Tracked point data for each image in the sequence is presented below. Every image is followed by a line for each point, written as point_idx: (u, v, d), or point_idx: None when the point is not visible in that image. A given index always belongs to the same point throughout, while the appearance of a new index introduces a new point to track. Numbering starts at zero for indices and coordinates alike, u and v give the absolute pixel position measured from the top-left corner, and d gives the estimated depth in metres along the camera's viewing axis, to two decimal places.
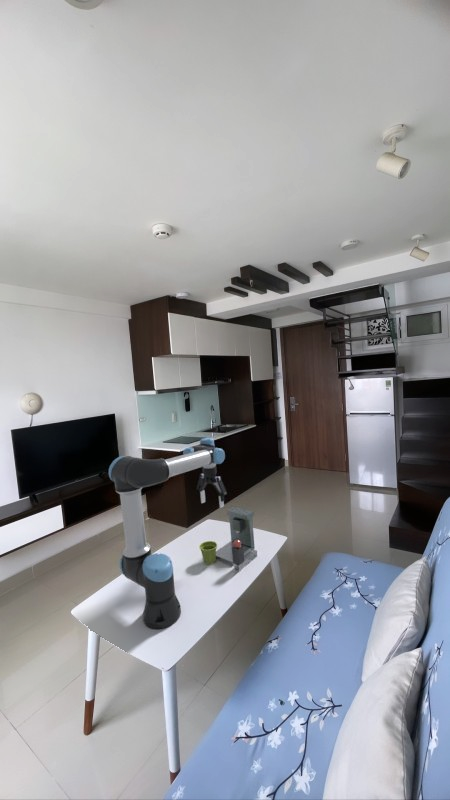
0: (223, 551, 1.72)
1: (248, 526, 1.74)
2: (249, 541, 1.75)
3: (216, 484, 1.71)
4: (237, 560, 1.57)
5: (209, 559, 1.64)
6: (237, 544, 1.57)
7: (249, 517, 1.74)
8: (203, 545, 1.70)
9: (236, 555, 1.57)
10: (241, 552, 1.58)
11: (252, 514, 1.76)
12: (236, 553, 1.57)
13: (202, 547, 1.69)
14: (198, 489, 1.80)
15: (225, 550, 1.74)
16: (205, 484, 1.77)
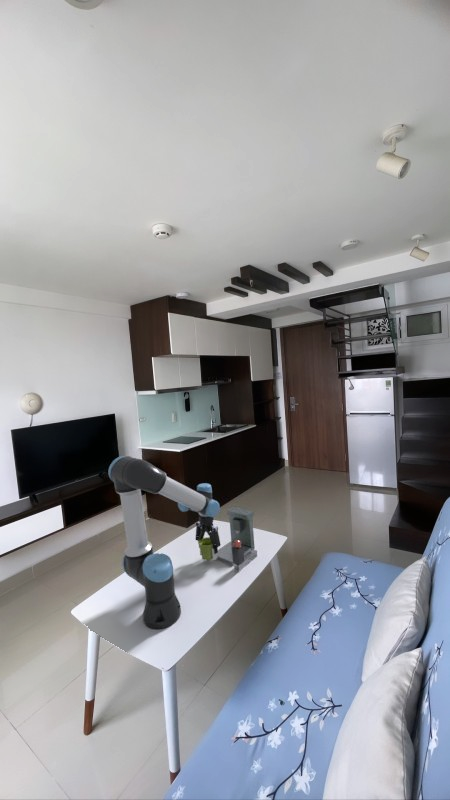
0: (223, 551, 1.72)
1: (248, 526, 1.74)
2: (249, 541, 1.75)
3: (211, 534, 1.65)
4: (237, 560, 1.57)
5: (207, 555, 1.64)
6: (237, 544, 1.57)
7: (249, 517, 1.74)
8: (202, 541, 1.70)
9: (236, 555, 1.57)
10: (241, 552, 1.58)
11: (252, 514, 1.76)
12: (236, 553, 1.57)
13: (201, 543, 1.69)
14: None
15: (225, 550, 1.74)
16: (203, 533, 1.69)
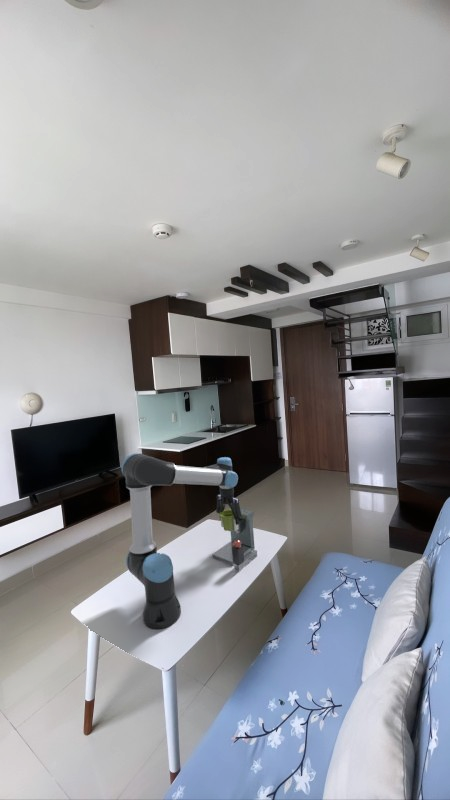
0: (223, 551, 1.72)
1: (248, 526, 1.74)
2: (249, 541, 1.75)
3: (232, 506, 1.69)
4: (237, 560, 1.57)
5: (229, 526, 1.68)
6: (237, 544, 1.57)
7: (249, 517, 1.74)
8: (223, 513, 1.74)
9: (236, 555, 1.57)
10: (241, 552, 1.58)
11: (252, 514, 1.76)
12: (236, 553, 1.57)
13: (222, 515, 1.73)
14: (218, 512, 1.75)
15: (225, 550, 1.74)
16: (224, 505, 1.73)
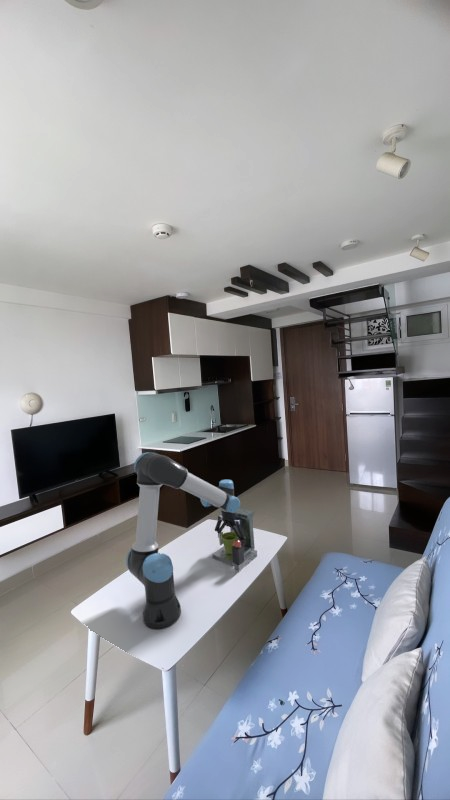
0: (223, 551, 1.72)
1: (248, 526, 1.74)
2: (249, 541, 1.75)
3: (235, 527, 1.69)
4: (237, 560, 1.57)
5: (231, 549, 1.69)
6: (237, 544, 1.57)
7: (249, 517, 1.74)
8: (224, 536, 1.75)
9: (236, 555, 1.57)
10: (241, 552, 1.58)
11: (252, 514, 1.76)
12: (236, 553, 1.57)
13: (223, 537, 1.74)
14: (216, 530, 1.77)
15: None
16: (224, 526, 1.74)
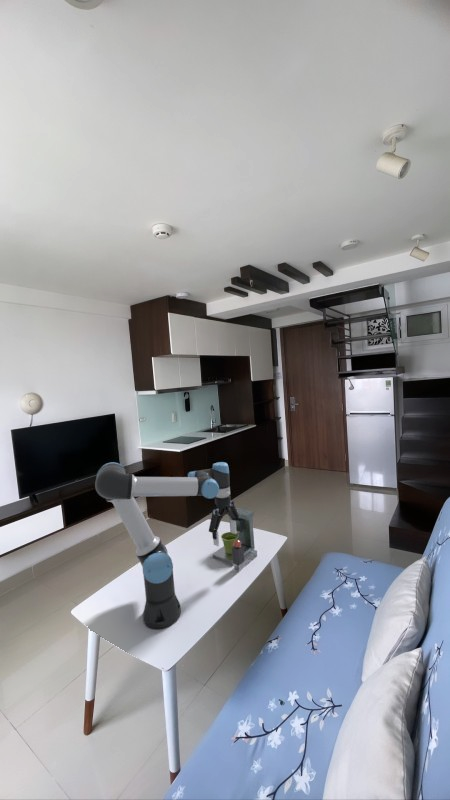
0: (223, 551, 1.72)
1: (248, 526, 1.74)
2: (249, 541, 1.75)
3: (217, 517, 1.49)
4: (237, 560, 1.57)
5: (231, 549, 1.69)
6: (237, 544, 1.57)
7: (249, 517, 1.74)
8: (224, 536, 1.75)
9: (236, 555, 1.57)
10: (241, 552, 1.58)
11: (252, 514, 1.76)
12: (236, 553, 1.57)
13: (223, 537, 1.74)
14: None
15: None
16: (228, 514, 1.55)
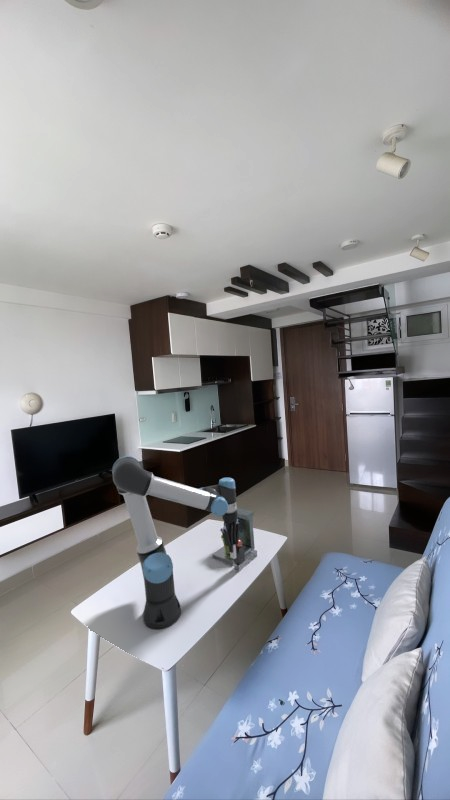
0: (223, 551, 1.72)
1: (248, 526, 1.74)
2: (249, 541, 1.75)
3: (228, 533, 1.54)
4: (238, 559, 1.57)
5: None
6: (238, 543, 1.57)
7: (249, 517, 1.74)
8: None
9: (237, 554, 1.57)
10: (242, 551, 1.58)
11: (252, 514, 1.76)
12: (236, 553, 1.58)
13: None
14: None
15: None
16: (232, 532, 1.56)
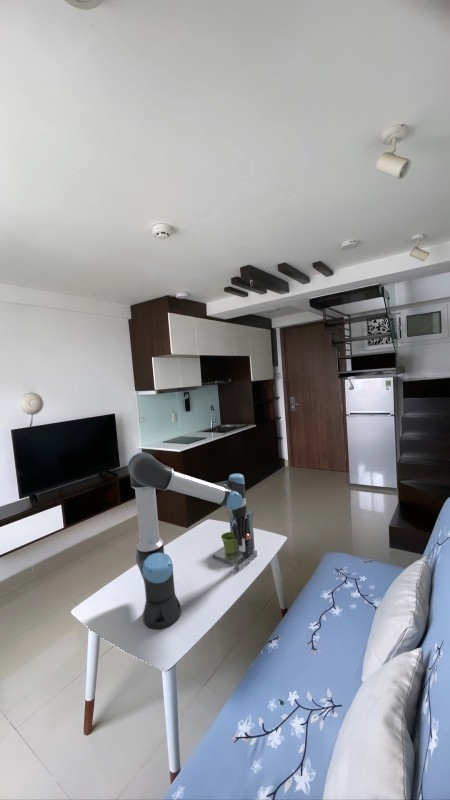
0: (223, 551, 1.72)
1: (248, 526, 1.74)
2: None
3: (237, 527, 1.60)
4: (247, 552, 1.63)
5: (231, 549, 1.69)
6: (247, 537, 1.63)
7: (249, 517, 1.74)
8: (224, 536, 1.75)
9: (246, 548, 1.63)
10: (250, 545, 1.64)
11: (252, 514, 1.76)
12: (245, 546, 1.63)
13: (223, 537, 1.74)
14: None
15: None
16: (241, 526, 1.61)
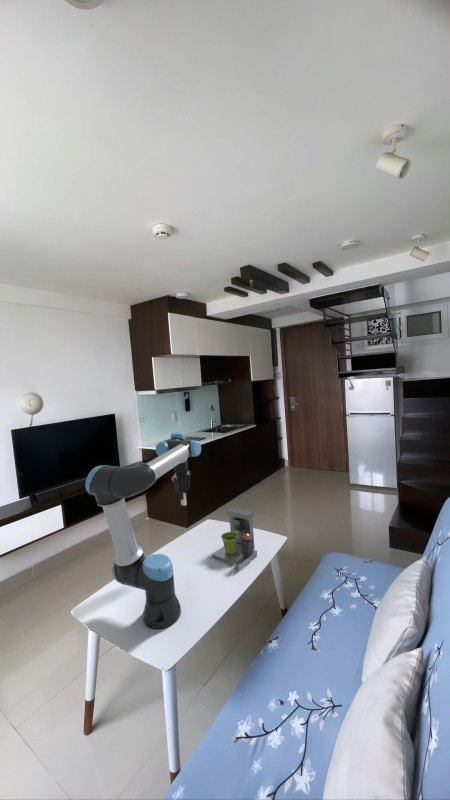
0: (223, 551, 1.72)
1: (248, 526, 1.74)
2: None
3: (179, 481, 1.69)
4: (247, 552, 1.63)
5: (231, 549, 1.69)
6: (247, 537, 1.63)
7: (249, 517, 1.74)
8: (224, 536, 1.75)
9: (246, 548, 1.63)
10: (250, 545, 1.64)
11: (252, 514, 1.76)
12: (245, 546, 1.63)
13: (223, 537, 1.74)
14: None
15: None
16: None
